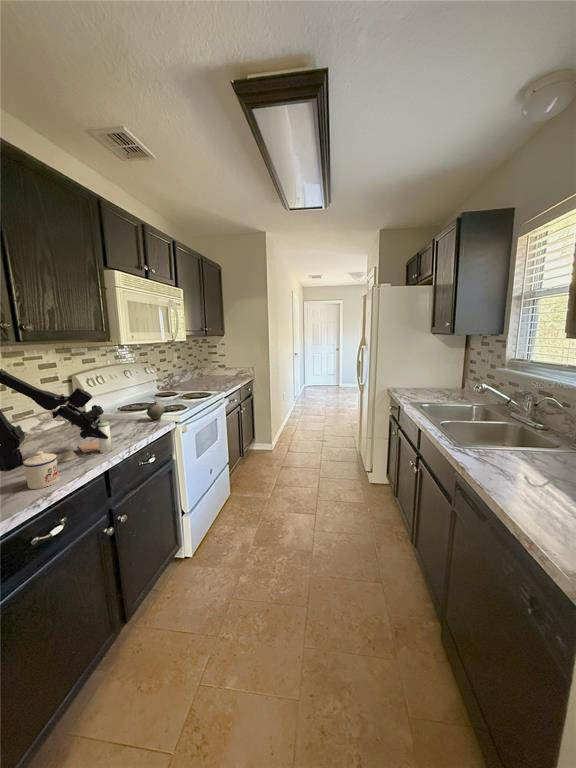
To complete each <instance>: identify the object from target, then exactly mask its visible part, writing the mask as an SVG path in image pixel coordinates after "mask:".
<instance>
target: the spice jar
mask: <svg viewBox="0 0 576 768" xmlns="http://www.w3.org/2000/svg"><path fill="white" fill-rule="evenodd" d="M96 425H99V429H100V430H101V431H102V432H103V433H105V434H106V435H107V436H108V439H101V438H97V439H98V441H99V447H100V449H99V452H100V454H108V453H111V452H112V451H113V444H112V438H111V429H110V427H111V426H110V421H107V420H105V421H100V422H99V423H97V424H96Z"/></svg>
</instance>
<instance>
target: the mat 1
mask: <svg viewBox="0 0 576 768" xmlns="http://www.w3.org/2000/svg"><path fill="white" fill-rule="evenodd" d="M55 455H56V456H57V464H58V463H63V462H67V461H70V460H74V459H78V458H79V457H78V455H77V453H75V452H74V450H70V451H65V452H62V453H58V454H55Z"/></svg>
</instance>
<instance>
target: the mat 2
mask: <svg viewBox="0 0 576 768" xmlns="http://www.w3.org/2000/svg"><path fill="white" fill-rule="evenodd" d="M77 447H78V448H79V450H81V452H82V453H84V454H86V453H89V452H93V451H97V450H100V447H99V440H95V441H91V442H87V443H83V444H79V445H77Z"/></svg>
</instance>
